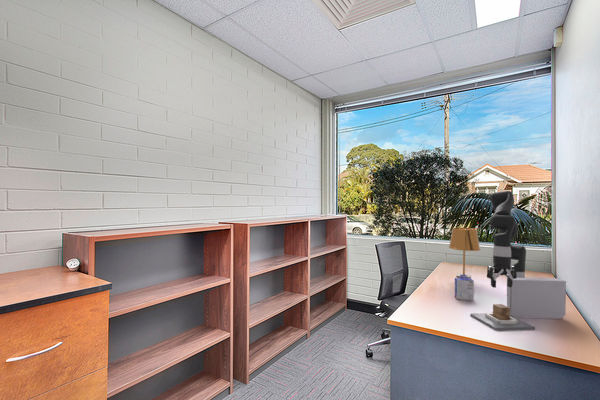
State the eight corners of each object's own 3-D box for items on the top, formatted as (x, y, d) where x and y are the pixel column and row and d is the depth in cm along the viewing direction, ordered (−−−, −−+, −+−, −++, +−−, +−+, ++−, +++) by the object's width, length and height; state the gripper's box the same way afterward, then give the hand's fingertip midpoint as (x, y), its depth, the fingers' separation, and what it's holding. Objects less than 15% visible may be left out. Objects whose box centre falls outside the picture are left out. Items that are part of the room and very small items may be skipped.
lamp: (480, 281, 227) (481, 228, 227) (479, 288, 209) (480, 230, 209) (449, 277, 238) (450, 226, 238) (446, 283, 221) (447, 228, 221)
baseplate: (505, 314, 160) (505, 309, 160) (534, 329, 142) (535, 323, 142) (470, 315, 158) (470, 310, 158) (496, 330, 140) (496, 324, 140)
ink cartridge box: (470, 297, 188) (471, 274, 188) (474, 300, 183) (474, 277, 183) (454, 296, 190) (454, 273, 190) (456, 299, 185) (457, 276, 185)
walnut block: (501, 317, 153) (502, 304, 153) (509, 321, 148) (509, 307, 148) (492, 317, 152) (493, 304, 152) (500, 321, 147) (500, 307, 148)
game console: (504, 313, 162) (505, 276, 162) (556, 314, 161) (556, 278, 161) (512, 317, 157) (512, 279, 157) (565, 319, 156) (565, 281, 156)
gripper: (509, 253, 155) (508, 284, 155) (483, 253, 153) (483, 285, 153) (521, 256, 147) (520, 289, 147) (494, 256, 146) (494, 289, 146)
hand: (501, 287), depth 150 cm, fingers open, 8 cm apart
